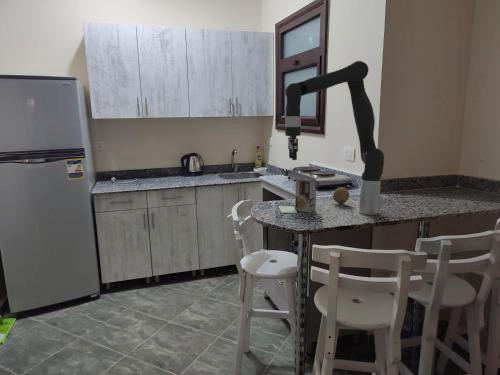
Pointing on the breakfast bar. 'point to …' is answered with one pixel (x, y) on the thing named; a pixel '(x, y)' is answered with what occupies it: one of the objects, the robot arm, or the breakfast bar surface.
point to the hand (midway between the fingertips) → (292, 159)
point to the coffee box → (305, 195)
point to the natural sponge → (341, 195)
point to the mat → (287, 209)
